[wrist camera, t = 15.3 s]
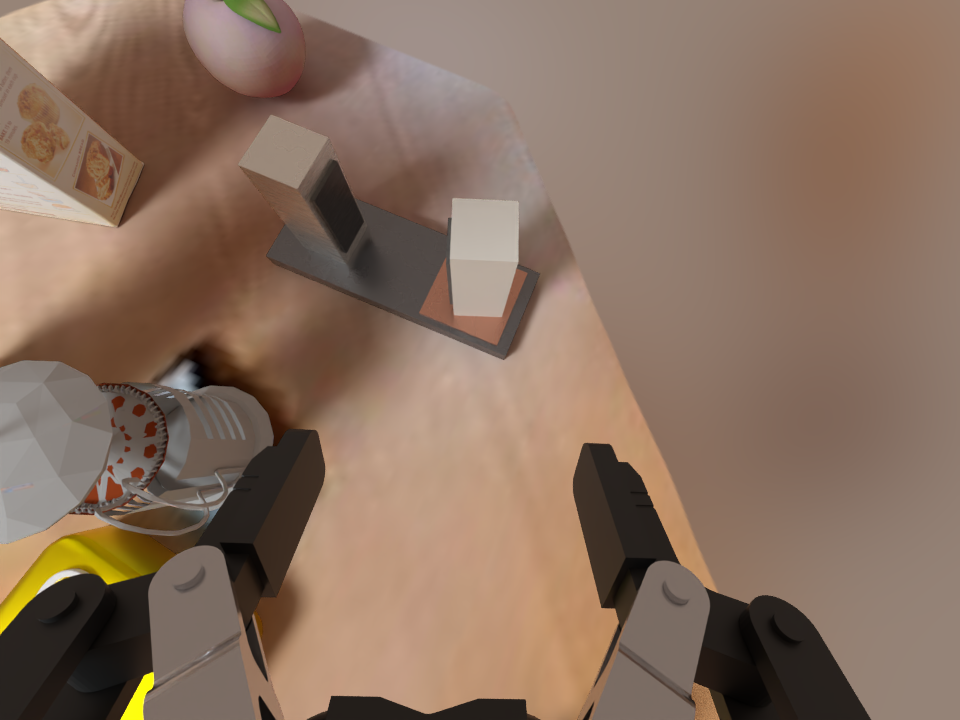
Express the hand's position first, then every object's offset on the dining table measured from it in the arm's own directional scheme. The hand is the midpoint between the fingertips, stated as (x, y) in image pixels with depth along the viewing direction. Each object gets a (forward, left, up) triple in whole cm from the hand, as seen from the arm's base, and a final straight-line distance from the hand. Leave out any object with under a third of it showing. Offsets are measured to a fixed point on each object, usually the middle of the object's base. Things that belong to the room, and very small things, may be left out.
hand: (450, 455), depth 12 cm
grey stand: (-10, +12, -20) cm, 26 cm away
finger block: (-4, +12, -18) cm, 23 cm away
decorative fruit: (-30, +24, -20) cm, 44 cm away
